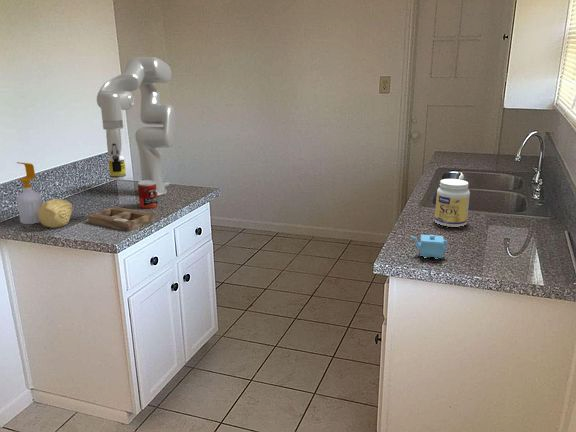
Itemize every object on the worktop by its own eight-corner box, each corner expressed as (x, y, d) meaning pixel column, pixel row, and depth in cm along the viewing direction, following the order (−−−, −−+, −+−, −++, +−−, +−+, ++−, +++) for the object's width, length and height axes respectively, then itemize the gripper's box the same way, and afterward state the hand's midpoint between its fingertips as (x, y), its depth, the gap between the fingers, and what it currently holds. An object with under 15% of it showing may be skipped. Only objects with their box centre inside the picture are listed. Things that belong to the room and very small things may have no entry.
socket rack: (115, 213, 224) (114, 205, 223) (154, 220, 214) (153, 213, 213) (88, 222, 212) (87, 214, 211) (129, 231, 202) (128, 223, 201)
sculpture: (58, 231, 203) (54, 204, 199) (33, 228, 207) (29, 201, 203) (79, 222, 213) (75, 196, 209) (55, 219, 217) (51, 194, 213)
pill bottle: (121, 180, 210) (118, 152, 207) (107, 179, 212) (104, 152, 208) (129, 176, 216) (126, 150, 213) (115, 176, 217) (112, 149, 214)
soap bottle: (15, 223, 212) (4, 163, 205) (33, 216, 220) (23, 158, 213) (33, 225, 209) (22, 164, 202) (50, 218, 217) (40, 160, 210)
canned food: (145, 210, 227) (142, 185, 224) (136, 206, 233) (134, 182, 230) (161, 206, 232) (159, 182, 229) (152, 202, 238) (150, 179, 234)
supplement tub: (432, 226, 204) (435, 184, 198) (436, 217, 214) (439, 176, 209) (465, 230, 199) (470, 187, 194) (467, 220, 210) (472, 179, 205)
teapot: (409, 258, 174) (410, 237, 172) (409, 251, 180) (410, 230, 178) (447, 261, 172) (449, 239, 169) (446, 254, 177) (448, 233, 175)
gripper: (104, 122, 215) (109, 166, 220) (101, 128, 199) (106, 175, 204) (123, 121, 216) (127, 165, 222) (122, 127, 200) (126, 173, 206)
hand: (117, 169), depth 213 cm, fingers closed on pill bottle, 6 cm apart
